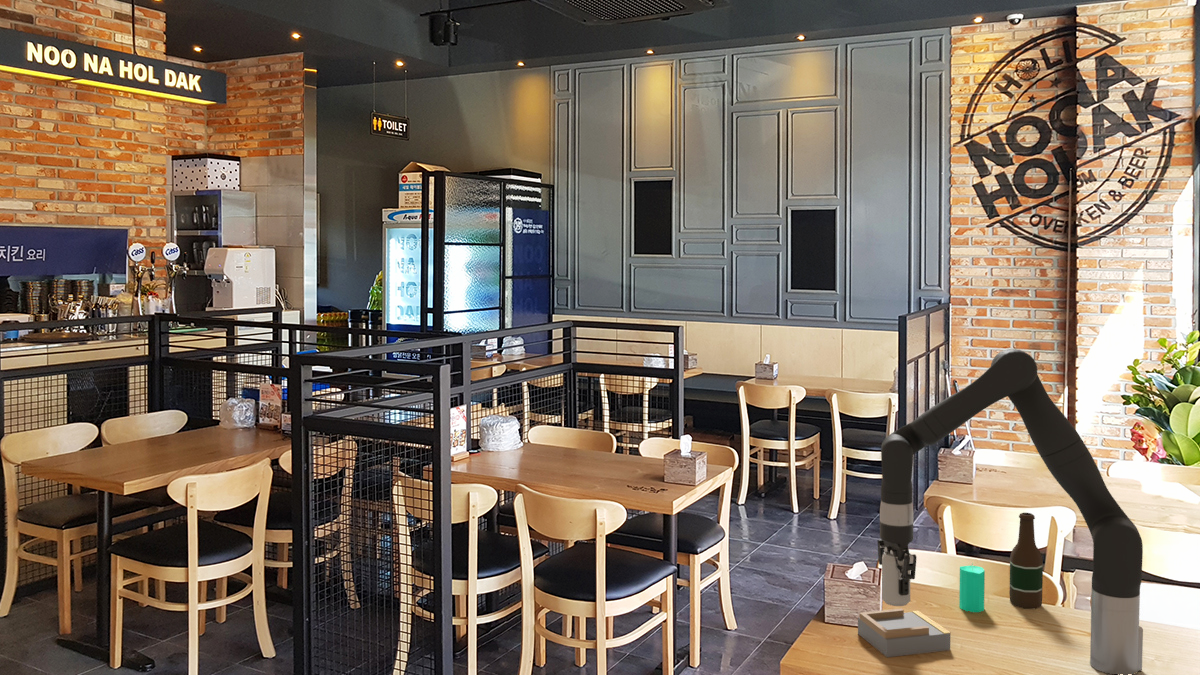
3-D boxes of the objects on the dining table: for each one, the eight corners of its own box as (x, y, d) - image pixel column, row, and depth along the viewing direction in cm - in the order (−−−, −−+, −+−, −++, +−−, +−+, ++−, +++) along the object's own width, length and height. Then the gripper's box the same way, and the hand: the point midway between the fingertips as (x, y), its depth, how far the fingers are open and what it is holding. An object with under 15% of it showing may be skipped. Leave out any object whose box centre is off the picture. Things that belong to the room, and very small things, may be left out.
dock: (917, 627, 228) (918, 605, 228) (950, 650, 215) (950, 626, 214) (857, 633, 225) (857, 611, 225) (886, 657, 211) (887, 633, 211)
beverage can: (911, 608, 215) (912, 557, 214) (883, 606, 216) (883, 556, 215) (908, 598, 221) (908, 549, 220) (880, 597, 223) (880, 548, 222)
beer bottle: (1008, 606, 240) (1009, 515, 239) (1010, 597, 247) (1011, 508, 245) (1041, 611, 237) (1042, 519, 235) (1042, 601, 244) (1044, 511, 242)
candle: (960, 611, 238) (960, 565, 237) (958, 603, 244) (958, 558, 243) (985, 613, 236) (986, 567, 235) (983, 605, 242) (983, 560, 241)
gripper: (927, 527, 211) (927, 599, 212) (895, 511, 225) (895, 578, 226) (897, 529, 209) (897, 602, 211) (866, 513, 223) (866, 581, 225)
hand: (896, 589), depth 218 cm, fingers closed on beverage can, 6 cm apart
